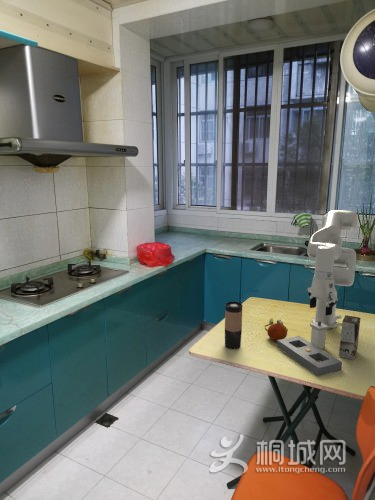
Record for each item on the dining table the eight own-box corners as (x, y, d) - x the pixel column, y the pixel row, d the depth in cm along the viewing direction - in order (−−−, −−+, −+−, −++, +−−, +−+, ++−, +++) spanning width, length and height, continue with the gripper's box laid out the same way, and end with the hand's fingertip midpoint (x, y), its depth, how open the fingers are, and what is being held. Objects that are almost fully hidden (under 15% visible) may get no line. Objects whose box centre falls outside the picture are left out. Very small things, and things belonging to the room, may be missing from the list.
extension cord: (293, 325, 189) (293, 322, 188) (282, 336, 176) (282, 333, 176) (271, 320, 195) (271, 316, 195) (259, 330, 183) (259, 326, 182)
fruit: (289, 339, 173) (291, 323, 171) (280, 345, 166) (281, 328, 165) (273, 333, 179) (274, 318, 177) (263, 339, 173) (264, 323, 171)
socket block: (298, 342, 169) (298, 334, 168) (341, 369, 146) (342, 361, 145) (277, 347, 164) (277, 339, 164) (318, 376, 141) (318, 367, 140)
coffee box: (354, 360, 153) (358, 324, 150) (338, 356, 157) (341, 321, 153) (357, 351, 161) (361, 317, 157) (342, 347, 164) (345, 314, 161)
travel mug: (242, 343, 168) (244, 302, 164) (239, 350, 161) (240, 308, 157) (226, 340, 170) (227, 300, 166) (222, 348, 163) (223, 306, 159)
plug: (318, 342, 169) (320, 318, 167) (326, 347, 164) (329, 323, 162) (308, 344, 167) (310, 320, 165) (317, 349, 162) (319, 325, 160)
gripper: (345, 278, 152) (341, 316, 156) (316, 268, 168) (313, 304, 171) (331, 280, 149) (328, 319, 153) (303, 270, 165) (300, 306, 168)
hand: (320, 311), depth 162 cm, fingers open, 9 cm apart
